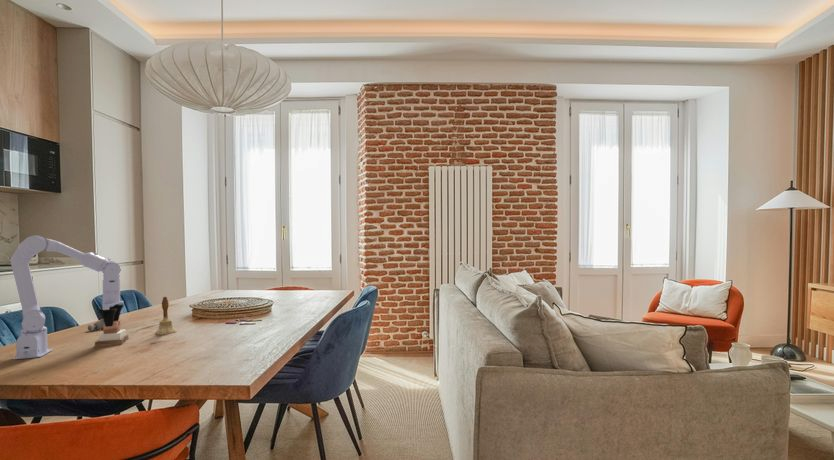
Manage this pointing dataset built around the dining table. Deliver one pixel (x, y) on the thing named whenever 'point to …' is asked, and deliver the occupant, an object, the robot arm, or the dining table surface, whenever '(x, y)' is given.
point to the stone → (96, 325)
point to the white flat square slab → (112, 335)
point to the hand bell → (165, 321)
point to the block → (112, 328)
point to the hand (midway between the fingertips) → (112, 324)
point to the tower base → (111, 342)
